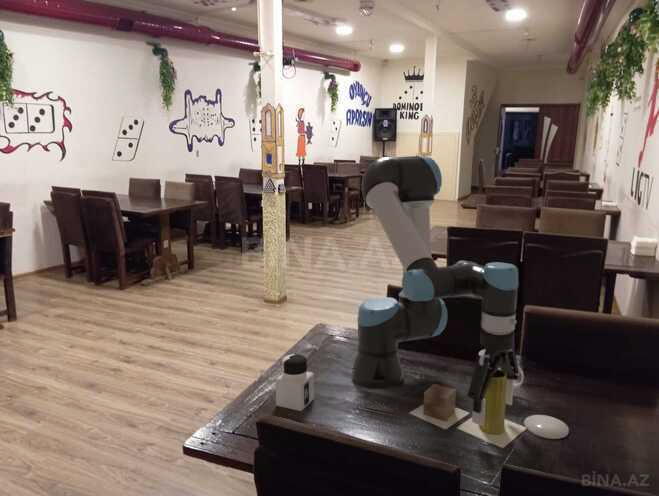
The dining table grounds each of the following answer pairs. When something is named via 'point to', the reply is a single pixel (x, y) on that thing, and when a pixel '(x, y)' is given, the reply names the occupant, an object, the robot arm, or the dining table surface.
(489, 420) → the vase
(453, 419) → the plate
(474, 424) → the plate
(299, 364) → the container
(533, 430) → the white round coaster
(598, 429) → the dining table surface
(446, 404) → the walnut block
